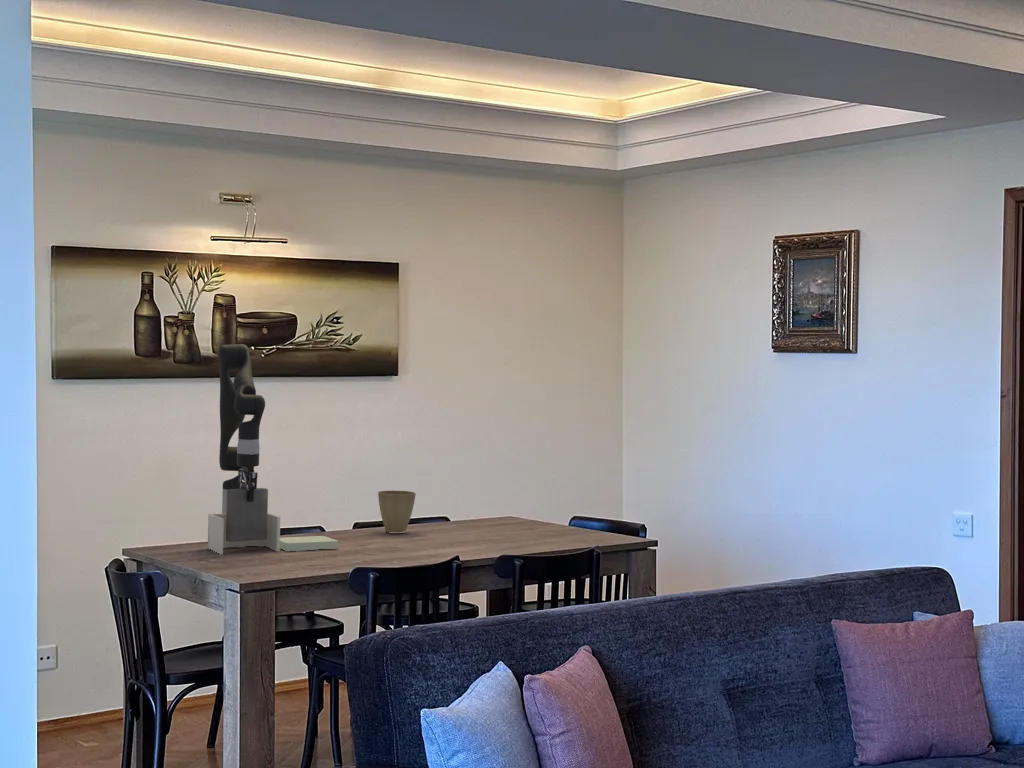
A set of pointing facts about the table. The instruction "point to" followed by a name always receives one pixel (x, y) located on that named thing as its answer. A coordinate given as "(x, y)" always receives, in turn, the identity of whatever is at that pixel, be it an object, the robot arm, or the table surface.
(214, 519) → the bay
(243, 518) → the flask
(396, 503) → the plant pot
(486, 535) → the table surface
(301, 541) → the stand
